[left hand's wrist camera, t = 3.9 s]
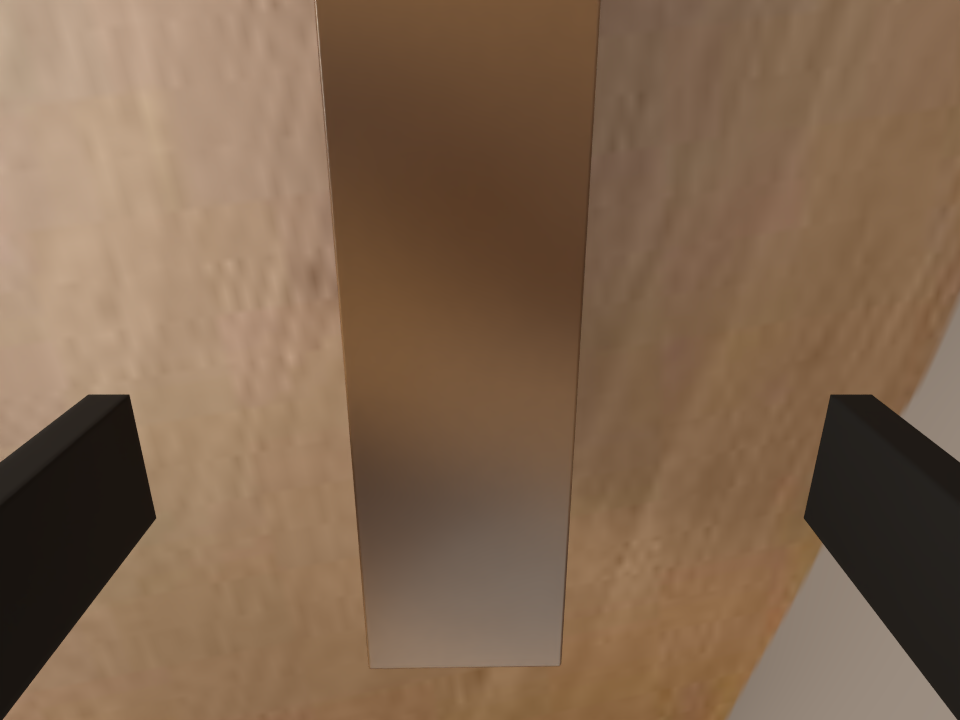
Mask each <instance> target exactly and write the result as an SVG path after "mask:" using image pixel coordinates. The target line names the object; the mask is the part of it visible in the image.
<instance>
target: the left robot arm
mask: <svg viewBox="0 0 960 720" xmlns="http://www.w3.org/2000/svg"><path fill="white" fill-rule="evenodd" d="M155 519H156V515H155V510H154V506H153V501H152V497H151V492H150V487H149V483H148V478H147V474H146V469H145V464H144V460H143V455H142V451H141V446H140V441H139V437H138V432H137V428H136V423H135V419H134V414H133V409H132V405H131V400H130V396H129V395H87V396H86V397H85V398H83V399H82V400H81V401H79V402H78V403H77V404H76V405H74V406H73V407H72V408H70V409H69V410H68V411H66V412H65V413H64V414H63V415H61V416H60V417H59V418H57V419H56V420H55V421H53V422H52V423H51V424H50V425H48V426H47V427H46V428H44V429H43V430H42V431H40V432H39V433H38V434H37V435H35V436H34V437H33V438H31V439H30V440H29V441H27V442H26V443H25V444H24V445H22V446H21V447H20V448H18V449H17V450H16V451H14V452H13V453H12V454H11V455H9V456H8V457H7V458H5V459H4V460H3V461H1V462H0V720H3V719H4V717H5V716H6V715H7V713H8V712H9V711H10V709H11V708H12V707H13V705H14V704H15V703H16V701H17V700H18V699H19V698H20V696H21V695H22V694H23V692H24V691H25V690H26V688H27V687H28V686H29V684H30V683H31V682H32V680H33V679H34V678H35V677H36V675H37V674H38V673H39V671H40V670H41V669H42V667H43V666H44V665H45V663H46V662H47V661H48V659H49V658H50V657H51V656H52V654H53V653H54V652H55V650H56V649H57V648H58V646H59V645H60V644H61V642H62V641H63V640H64V638H65V637H66V636H67V635H68V633H69V632H70V631H71V629H72V628H73V627H74V625H75V624H76V623H77V621H78V620H79V619H80V618H81V616H82V615H83V614H84V612H85V611H86V610H87V608H88V607H89V606H90V604H91V603H92V602H93V600H94V599H95V598H96V597H97V595H98V594H99V593H100V591H101V590H102V589H103V587H104V586H105V585H106V583H107V582H108V581H109V579H110V578H111V577H112V576H113V574H114V573H115V572H116V570H117V569H118V568H119V566H120V565H121V564H122V562H123V561H124V560H125V558H126V557H127V556H128V555H129V553H130V552H131V551H132V549H133V548H134V547H135V545H136V544H137V543H138V541H139V540H140V539H141V537H142V536H143V535H144V534H145V532H146V531H147V530H148V528H149V527H150V526H151V524H152V523H153V522H154V520H155ZM804 519H805V520H806V522H807V523H808V524H809V526H810V527H811V528H812V530H813V531H814V532H815V534H816V535H817V536H818V537H819V539H820V540H821V541H822V543H823V544H824V545H825V547H826V548H827V549H828V551H829V552H830V553H831V555H832V556H833V557H834V558H835V560H836V561H837V562H838V564H839V565H840V566H841V568H842V569H843V570H844V572H845V573H846V574H847V576H848V577H849V578H850V579H851V581H852V582H853V583H854V585H855V586H856V587H857V589H858V590H859V591H860V593H861V594H862V595H863V597H864V598H865V599H866V600H867V602H868V603H869V604H870V606H871V607H872V608H873V610H874V611H875V612H876V614H877V615H878V616H879V618H880V619H881V620H882V621H883V623H884V624H885V625H886V627H887V628H888V629H889V631H890V632H891V633H892V634H893V636H894V637H895V638H896V640H897V641H898V642H899V644H900V645H901V646H902V648H903V649H904V650H905V652H906V653H907V654H908V656H909V657H910V658H911V659H912V661H913V662H914V663H915V665H916V666H917V667H918V669H919V670H920V671H921V673H922V674H923V675H924V676H925V678H926V679H927V680H928V682H929V683H930V684H931V686H932V687H933V688H934V690H935V691H936V692H937V694H938V695H939V696H940V698H941V699H942V700H943V701H944V703H945V704H946V705H947V707H948V708H949V709H950V711H951V712H952V713H953V715H954V716H955V717H956V719H957V720H960V462H958V461H957V460H956V459H955V458H953V457H952V456H951V455H949V454H948V453H947V452H946V451H944V450H943V449H942V448H940V447H939V446H938V445H936V444H935V443H934V442H933V441H931V440H930V439H929V438H927V437H926V436H925V435H923V434H922V433H921V432H920V431H918V430H917V429H915V428H914V427H913V426H912V425H910V424H909V423H908V422H907V421H905V420H904V419H903V418H901V417H900V416H899V415H897V414H896V413H895V412H894V411H892V410H891V409H890V408H888V407H887V406H886V405H884V404H883V403H882V402H881V401H879V400H878V399H877V398H875V397H874V396H873V395H831V396H830V400H829V405H828V409H827V414H826V419H825V423H824V428H823V432H822V437H821V441H820V446H819V451H818V455H817V460H816V464H815V469H814V474H813V478H812V483H811V487H810V492H809V497H808V501H807V506H806V510H805V515H804Z"/></svg>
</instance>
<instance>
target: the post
mask: <svg viewBox="0 0 960 720" xmlns="http://www.w3.org/2000/svg"><path fill="white" fill-rule="evenodd" d="M600 2H601V0H314V5H315V17H316V30H317V42H318V54H319V66H320V78H321V91H322V103H323V115H324V127H325V139H326V152H327V164H328V176H329V188H330V200H331V213H332V225H333V237H334V249H335V262H336V274H337V286H338V298H339V310H340V323H341V335H342V347H343V359H344V371H345V384H346V396H347V408H348V420H349V432H350V445H351V457H352V469H353V481H354V493H355V506H356V518H357V530H358V542H359V554H360V567H361V579H362V591H363V603H364V615H365V628H366V640H367V652H368V664H369V668H370V669H394V668H463V667H532V666H560V665H561V657H562V640H563V624H564V607H565V590H566V573H567V556H568V540H569V523H570V506H571V489H572V472H573V456H574V439H575V422H576V405H577V389H578V372H579V355H580V338H581V321H582V305H583V288H584V271H585V254H586V237H587V221H588V204H589V187H590V170H591V154H592V137H593V120H594V103H595V86H596V70H597V53H598V36H599V19H600Z"/></svg>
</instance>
